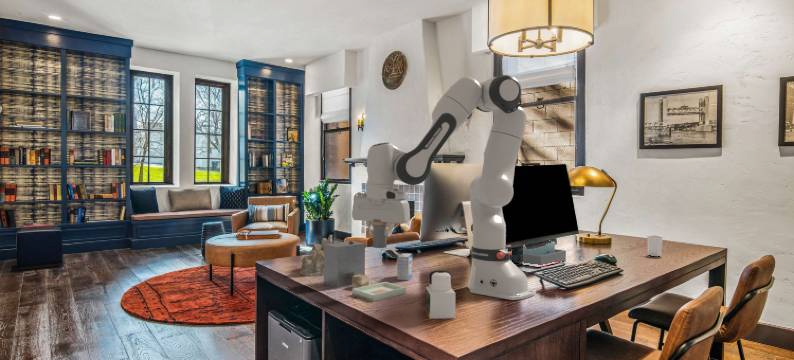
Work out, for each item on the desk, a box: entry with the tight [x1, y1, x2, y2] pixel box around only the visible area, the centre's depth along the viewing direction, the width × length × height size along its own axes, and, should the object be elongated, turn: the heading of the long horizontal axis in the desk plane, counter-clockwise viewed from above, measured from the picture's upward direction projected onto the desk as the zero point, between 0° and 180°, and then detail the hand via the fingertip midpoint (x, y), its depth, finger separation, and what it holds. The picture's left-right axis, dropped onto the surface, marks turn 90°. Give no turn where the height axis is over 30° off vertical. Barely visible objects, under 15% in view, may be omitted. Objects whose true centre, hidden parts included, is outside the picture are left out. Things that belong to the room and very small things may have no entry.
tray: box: [351, 281, 407, 303], centre depth 145 cm, size 10×14×2 cm
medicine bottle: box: [425, 270, 456, 320], centre depth 124 cm, size 7×7×12 cm
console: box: [323, 240, 366, 289], centre depth 159 cm, size 9×12×15 cm
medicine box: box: [396, 252, 413, 281], centre depth 168 cm, size 8×4×9 cm, turn 168°
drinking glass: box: [646, 234, 664, 256], centre depth 218 cm, size 7×7×10 cm
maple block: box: [351, 274, 370, 289], centre depth 153 cm, size 4×4×4 cm
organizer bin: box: [523, 248, 567, 265], centre depth 199 cm, size 14×22×5 cm, turn 133°
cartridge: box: [372, 219, 388, 249], centre depth 144 cm, size 4×4×9 cm
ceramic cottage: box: [299, 234, 334, 277], centre depth 178 cm, size 16×16×15 cm
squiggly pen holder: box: [523, 241, 556, 256], centre depth 202 cm, size 18×10×9 cm, turn 110°
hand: (379, 235), depth 144 cm, fingers closed on cartridge, 4 cm apart
